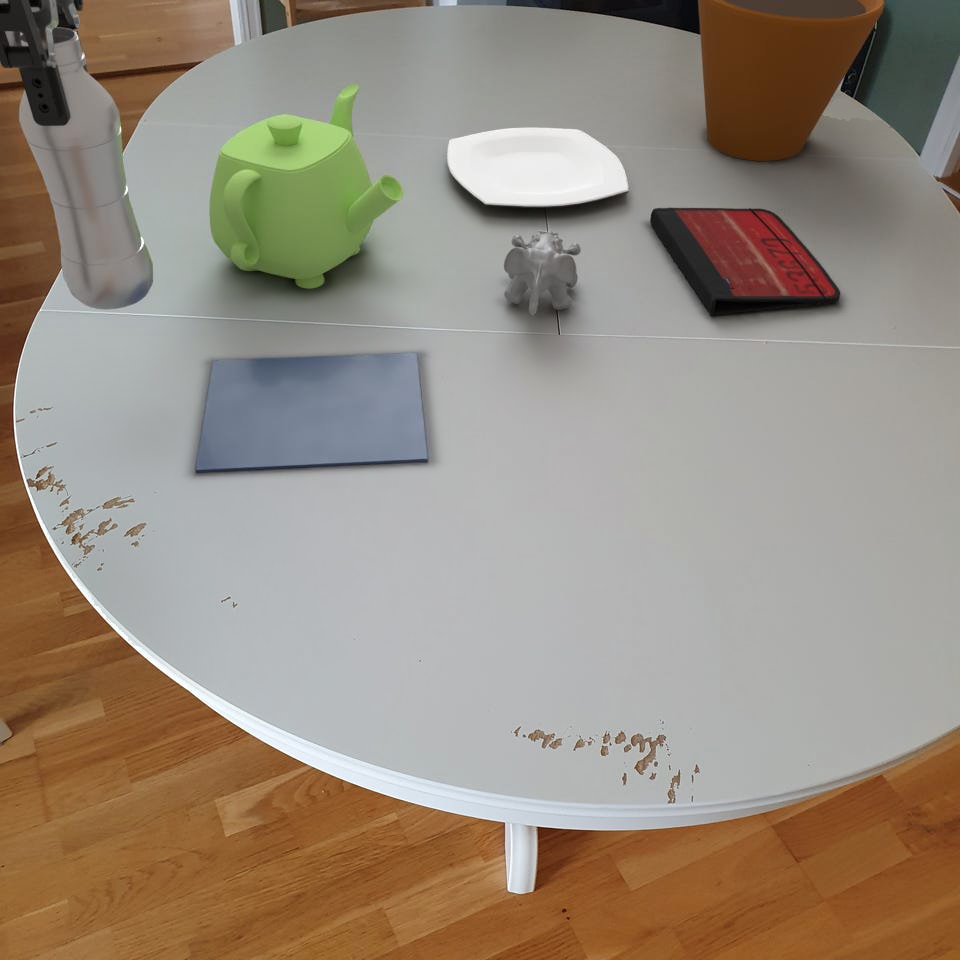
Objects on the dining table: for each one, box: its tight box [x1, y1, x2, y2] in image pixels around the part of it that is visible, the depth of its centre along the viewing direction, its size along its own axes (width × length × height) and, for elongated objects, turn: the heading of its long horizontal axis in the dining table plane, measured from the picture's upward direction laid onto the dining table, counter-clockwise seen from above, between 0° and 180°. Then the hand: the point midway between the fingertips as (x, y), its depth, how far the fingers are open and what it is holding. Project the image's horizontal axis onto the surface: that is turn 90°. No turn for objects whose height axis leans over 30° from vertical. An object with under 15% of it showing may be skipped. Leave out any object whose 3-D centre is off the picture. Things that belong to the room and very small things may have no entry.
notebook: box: [649, 207, 841, 317], centre depth 109 cm, size 16×2×21 cm
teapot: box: [209, 83, 404, 289], centre depth 102 cm, size 25×22×16 cm
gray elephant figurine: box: [503, 229, 582, 315], centre depth 99 cm, size 9×12×8 cm
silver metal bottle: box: [18, 27, 154, 310], centre depth 69 cm, size 6×7×20 cm
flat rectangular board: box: [194, 352, 429, 473], centre depth 87 cm, size 20×16×1 cm
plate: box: [446, 127, 630, 209], centre depth 124 cm, size 23×23×2 cm
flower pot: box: [697, 0, 885, 162], centre depth 129 cm, size 24×24×20 cm
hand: (63, 103), depth 65 cm, fingers closed on silver metal bottle, 6 cm apart
